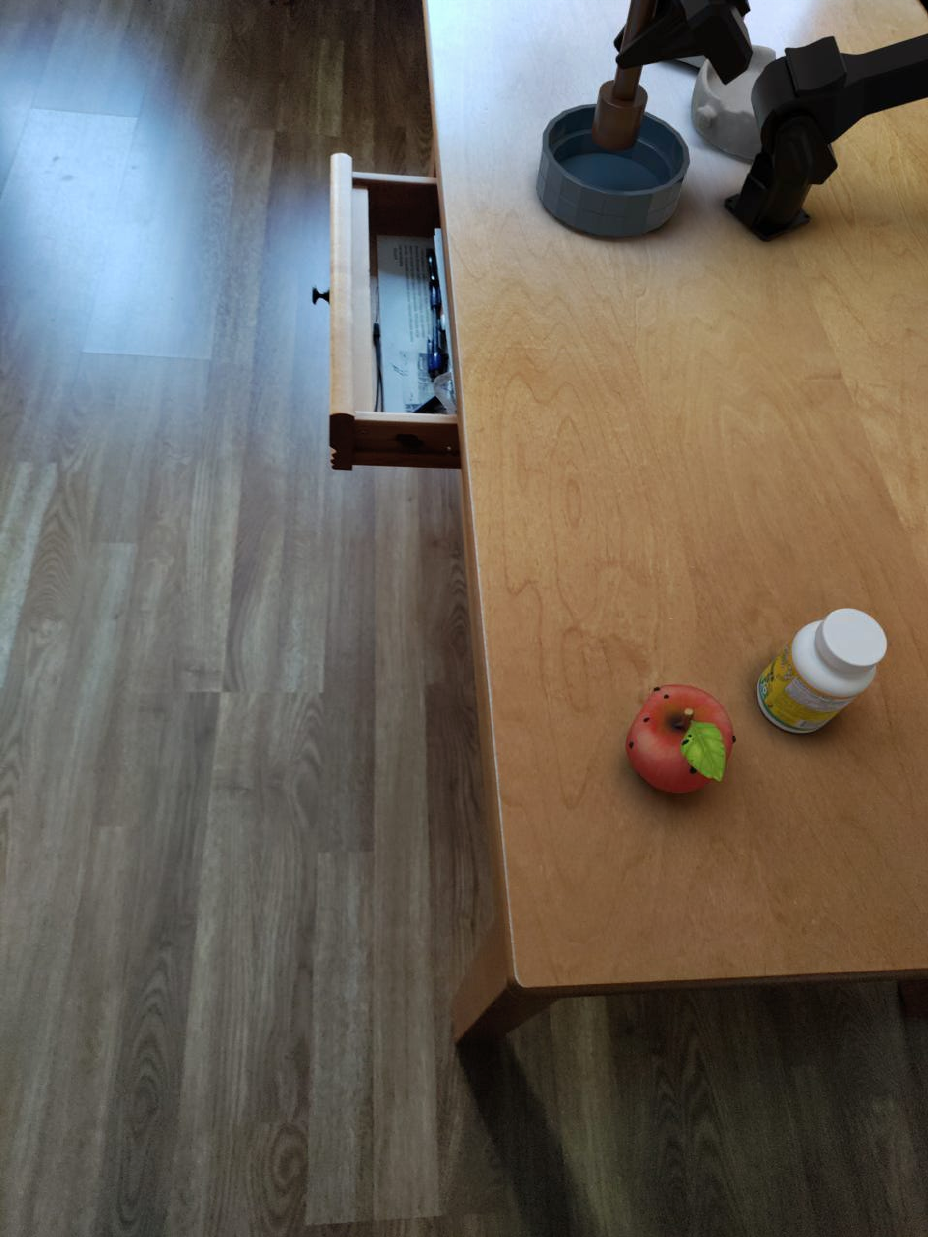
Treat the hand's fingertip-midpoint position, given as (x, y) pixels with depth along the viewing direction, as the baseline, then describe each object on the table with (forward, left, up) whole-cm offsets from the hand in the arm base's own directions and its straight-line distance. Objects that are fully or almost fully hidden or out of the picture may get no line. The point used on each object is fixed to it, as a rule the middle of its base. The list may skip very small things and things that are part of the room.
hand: (616, 55), depth 74 cm
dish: (-23, -2, -14) cm, 27 cm away
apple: (+31, +50, -14) cm, 60 cm away
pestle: (-1, +1, -7) cm, 7 cm away
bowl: (-2, 0, -14) cm, 14 cm away
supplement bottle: (+20, +51, -14) cm, 57 cm away
